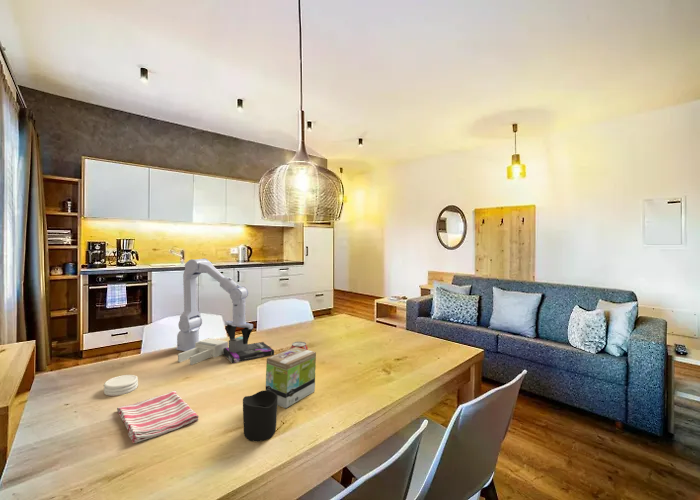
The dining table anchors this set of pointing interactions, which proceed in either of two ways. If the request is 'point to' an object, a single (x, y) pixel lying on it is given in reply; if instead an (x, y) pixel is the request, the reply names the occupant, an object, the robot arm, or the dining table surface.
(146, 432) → the dish towel
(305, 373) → the tea box
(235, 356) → the box
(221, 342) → the stand
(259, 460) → the dining table surface
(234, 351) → the grey tapered block
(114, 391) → the coaster
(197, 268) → the robot arm
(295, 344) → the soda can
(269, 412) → the pen holder
